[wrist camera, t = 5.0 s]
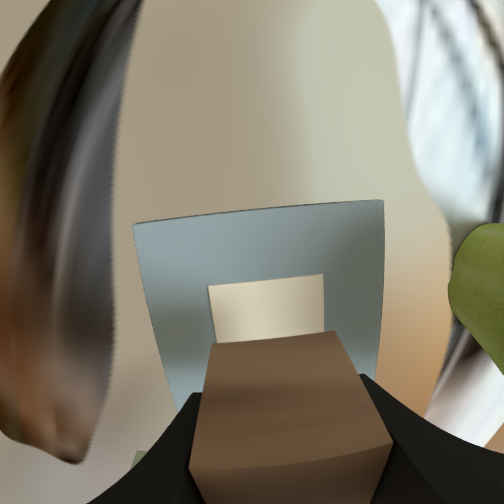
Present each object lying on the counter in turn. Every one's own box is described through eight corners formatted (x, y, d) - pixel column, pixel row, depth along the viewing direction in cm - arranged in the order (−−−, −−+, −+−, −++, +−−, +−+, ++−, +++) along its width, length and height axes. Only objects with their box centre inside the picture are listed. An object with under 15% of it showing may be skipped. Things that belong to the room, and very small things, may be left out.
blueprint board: (368, 392, 15) (371, 399, 15) (181, 411, 15) (179, 419, 15) (378, 199, 13) (384, 200, 12) (136, 222, 13) (131, 225, 12)
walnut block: (330, 414, 10) (362, 517, 5) (228, 426, 10) (223, 534, 5) (334, 330, 9) (393, 442, 5) (211, 343, 9) (188, 468, 5)
